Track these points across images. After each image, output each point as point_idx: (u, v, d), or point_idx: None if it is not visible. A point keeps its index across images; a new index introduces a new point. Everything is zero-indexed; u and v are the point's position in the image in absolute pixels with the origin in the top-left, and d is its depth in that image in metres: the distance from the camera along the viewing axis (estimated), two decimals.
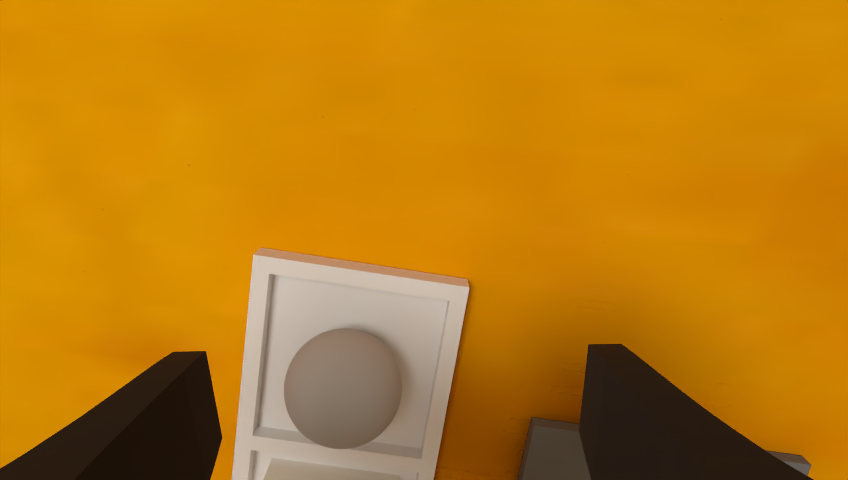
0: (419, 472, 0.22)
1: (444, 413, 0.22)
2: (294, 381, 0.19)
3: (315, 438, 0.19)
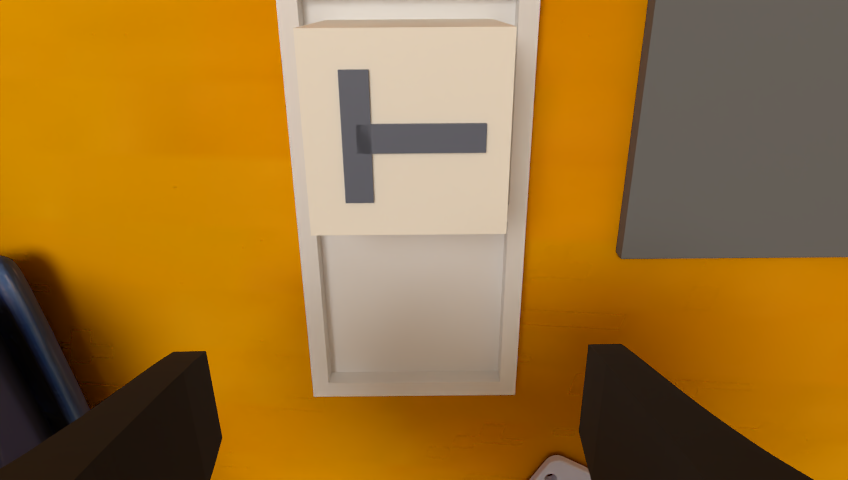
0: None
1: None
2: None
3: None
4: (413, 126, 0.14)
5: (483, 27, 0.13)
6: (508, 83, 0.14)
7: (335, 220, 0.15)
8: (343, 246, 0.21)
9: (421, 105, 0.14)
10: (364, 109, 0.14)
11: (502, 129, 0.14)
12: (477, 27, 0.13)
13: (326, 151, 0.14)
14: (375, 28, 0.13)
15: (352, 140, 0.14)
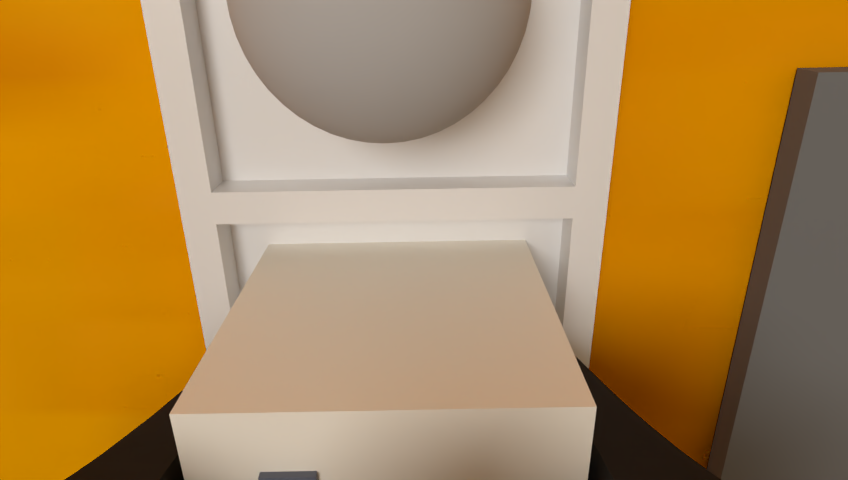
0: (574, 217, 0.11)
1: (620, 66, 0.10)
2: None
3: (328, 93, 0.07)
4: None
5: (532, 404, 0.07)
6: None
7: None
8: None
9: None
10: None
11: None
12: (521, 404, 0.07)
13: None
14: (327, 411, 0.07)
15: None
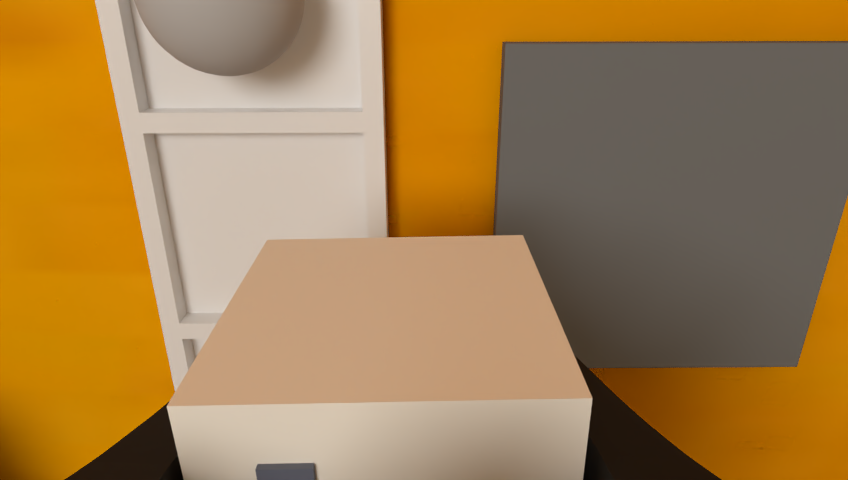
0: (364, 132, 0.17)
1: (379, 37, 0.16)
2: None
3: (181, 42, 0.13)
4: None
5: (528, 396, 0.07)
6: (572, 478, 0.07)
7: None
8: None
9: None
10: None
11: None
12: (517, 396, 0.07)
13: None
14: (323, 403, 0.07)
15: None
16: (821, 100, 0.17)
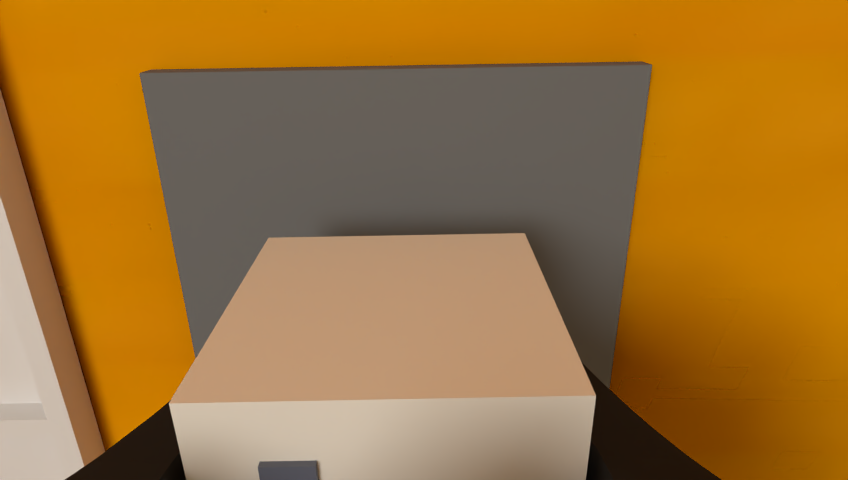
0: None
1: None
2: None
3: None
4: None
5: (531, 393, 0.07)
6: (575, 476, 0.07)
7: None
8: None
9: None
10: None
11: None
12: (520, 393, 0.07)
13: None
14: (326, 400, 0.07)
15: None
16: (571, 140, 0.13)
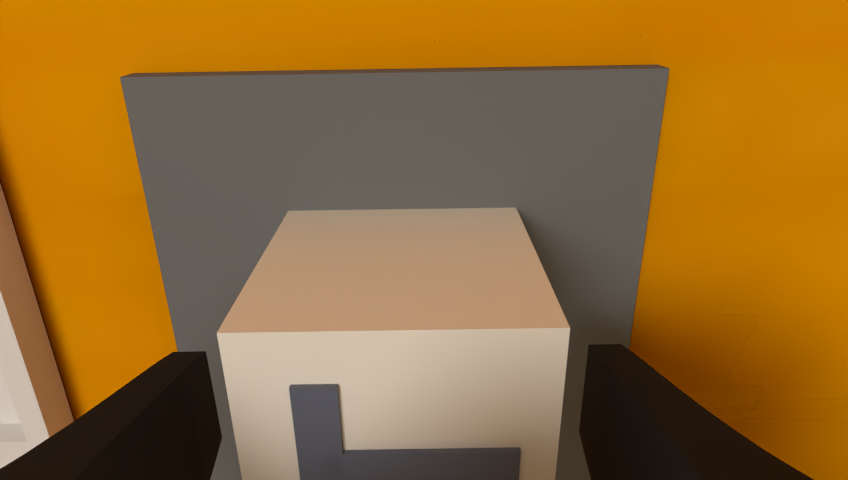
0: None
1: None
2: None
3: None
4: (409, 452, 0.09)
5: (517, 326, 0.08)
6: (554, 399, 0.09)
7: None
8: None
9: (419, 428, 0.09)
10: (332, 432, 0.09)
11: (543, 454, 0.09)
12: (507, 326, 0.08)
13: None
14: (347, 331, 0.08)
15: (315, 469, 0.09)
16: (581, 148, 0.12)
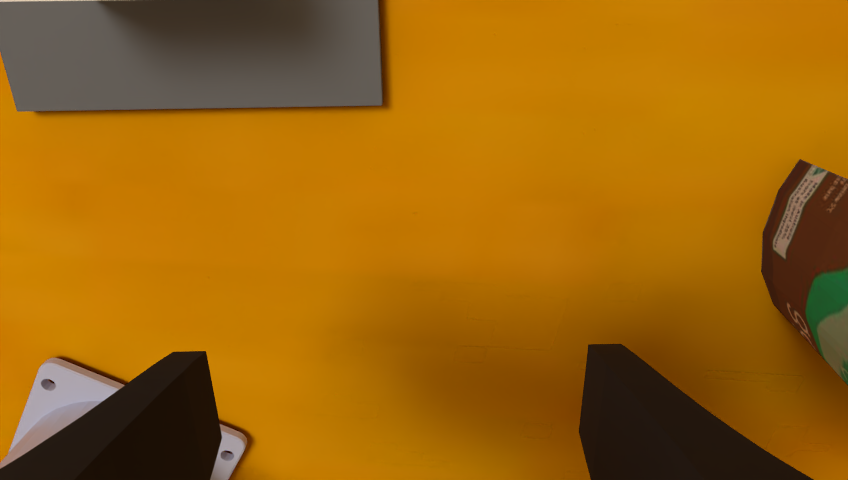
0: None
1: None
2: None
3: None
4: None
5: None
6: None
7: None
8: None
9: None
10: None
11: None
12: None
13: None
14: None
15: None
16: None
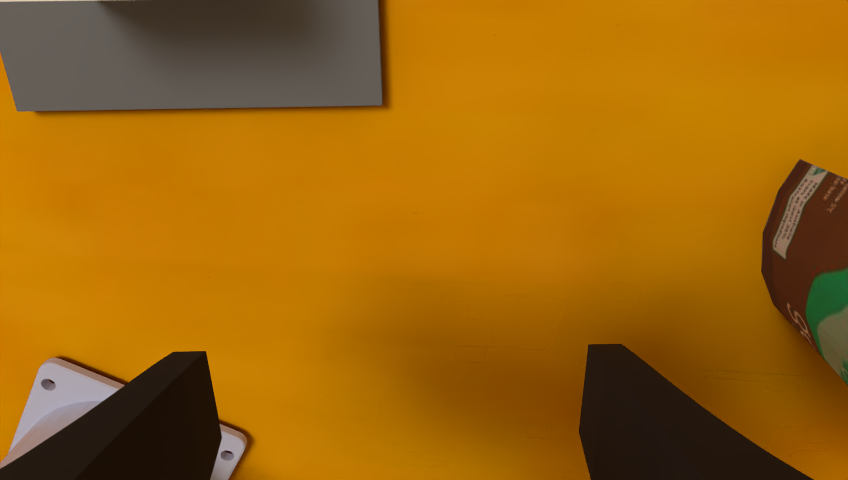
0: None
1: None
2: None
3: None
4: None
5: None
6: None
7: None
8: None
9: None
10: None
11: None
12: None
13: None
14: None
15: None
16: None
